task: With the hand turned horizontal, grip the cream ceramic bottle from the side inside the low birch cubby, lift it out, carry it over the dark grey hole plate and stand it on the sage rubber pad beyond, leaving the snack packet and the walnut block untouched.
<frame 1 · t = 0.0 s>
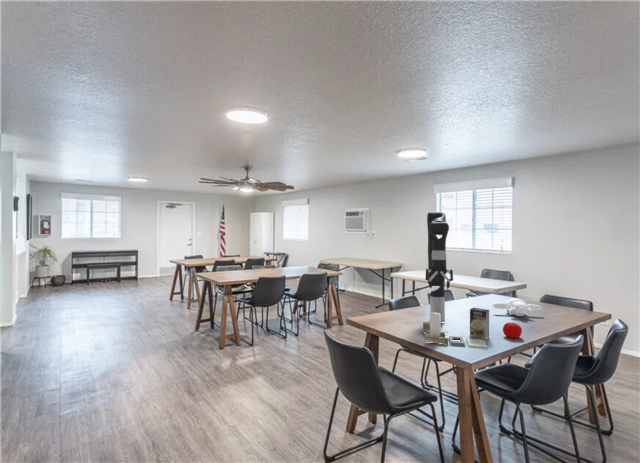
hand: (439, 288, 190), 29 cm above the table, tool pointing down, fingers open, 8 cm apart
walnut block: (427, 333, 207), on the table
cream bottle: (435, 327, 192), in the cubby
hole plate: (456, 342, 189), on the table
tomato: (512, 337, 198), on the table
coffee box: (479, 338, 197), on the table
pad: (476, 344, 186), on the table
cubby: (435, 340, 192), on the table
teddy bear: (515, 314, 253), on the table
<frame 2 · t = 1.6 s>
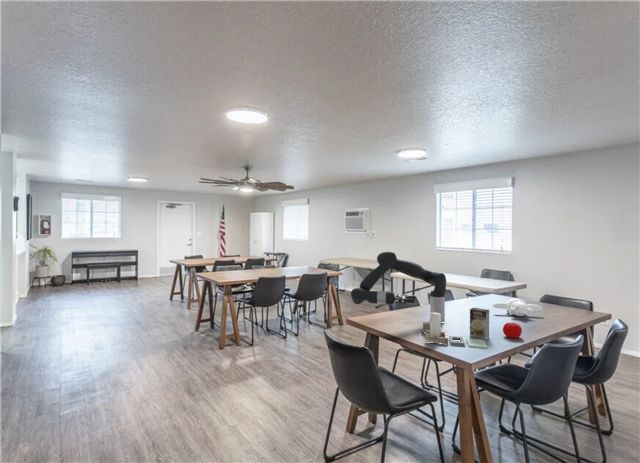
hand: (414, 299, 196), 22 cm above the table, tool horizontal, fingers open, 8 cm apart
nothing on the table moved.
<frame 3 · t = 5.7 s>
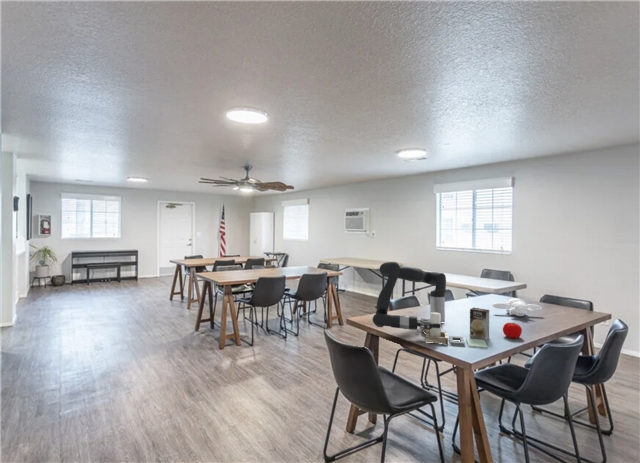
hand: (440, 324, 192), 9 cm above the table, tool horizontal, fingers closed on cream bottle, 5 cm apart
cream bottle: (435, 327, 192), in the cubby, touching gripper
everything else where it was.
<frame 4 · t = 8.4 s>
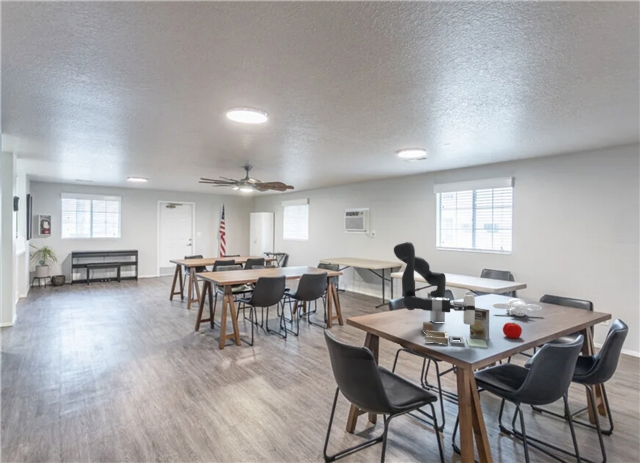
hand: (474, 306, 186), 20 cm above the table, tool horizontal, fingers closed on cream bottle, 5 cm apart
cream bottle: (469, 309, 187), point 18 cm above the table, touching gripper
everything else where it was.
when the fingers open (11 cm above the table, at t = 10.9 s): cream bottle stays where it is, resting on pad.
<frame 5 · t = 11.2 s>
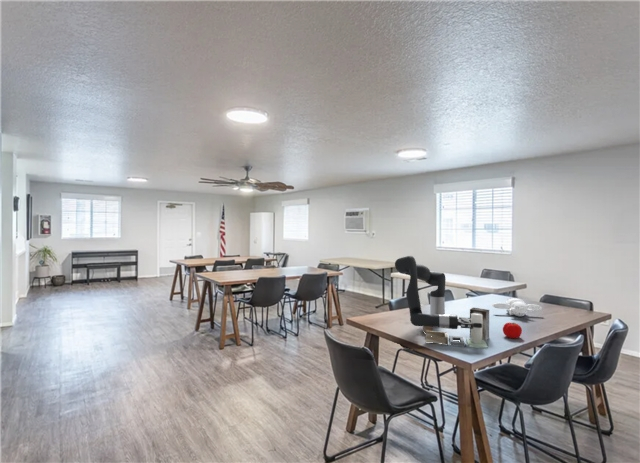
hand: (480, 323, 185), 11 cm above the table, tool horizontal, fingers open, 8 cm apart
cream bottle: (476, 328, 186), on the pad, point 8 cm above the table
everything else where it was.
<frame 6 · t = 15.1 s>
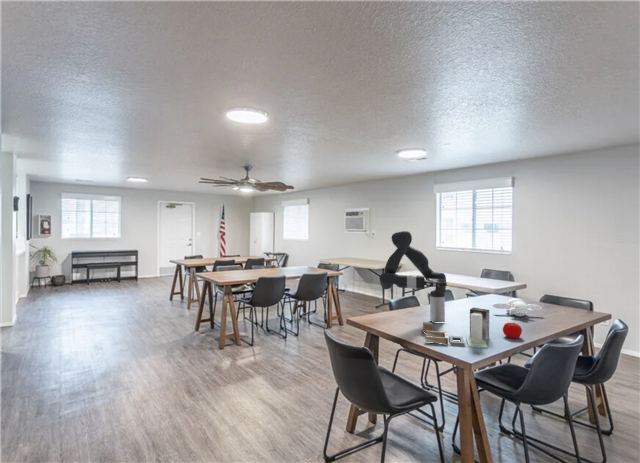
hand: (446, 283, 191), 32 cm above the table, tool horizontal, fingers open, 8 cm apart
nothing on the table moved.
at the end: cream bottle inside the target area on the pad (0.1 cm from its centre), point 8.3 cm above the pad's base; cream bottle tilted 0°; the gripper is holding nothing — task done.
